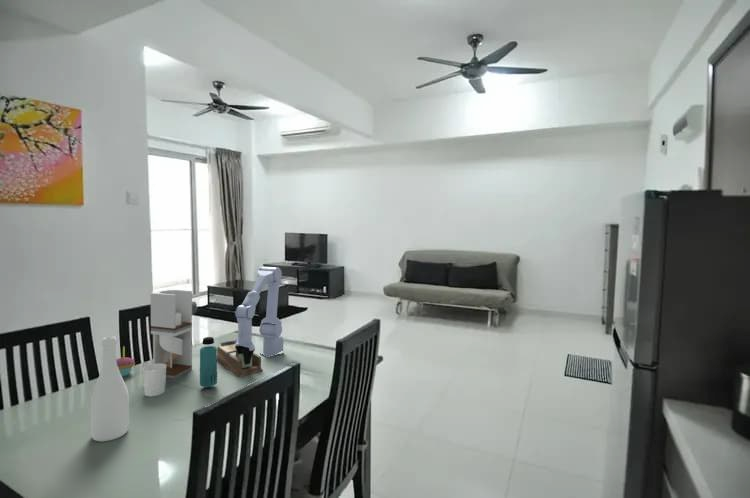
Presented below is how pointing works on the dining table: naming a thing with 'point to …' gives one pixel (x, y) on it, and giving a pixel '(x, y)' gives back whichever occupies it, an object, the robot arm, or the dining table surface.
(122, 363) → the cupcake
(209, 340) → the beverage bottle
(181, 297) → the white tiered shelf
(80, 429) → the dining table surface
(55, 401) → the dining table surface
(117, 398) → the wine bottle
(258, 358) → the brown wooden box
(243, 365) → the block
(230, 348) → the lid
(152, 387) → the white cup
